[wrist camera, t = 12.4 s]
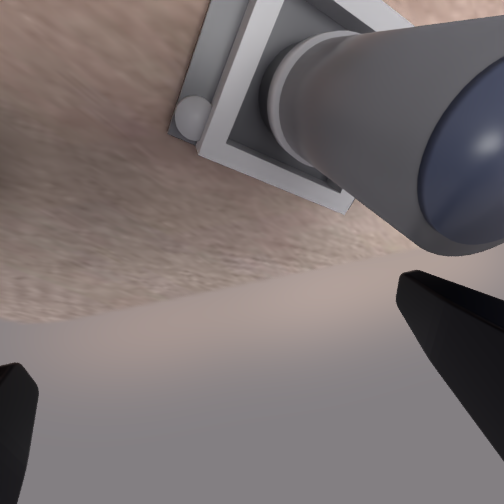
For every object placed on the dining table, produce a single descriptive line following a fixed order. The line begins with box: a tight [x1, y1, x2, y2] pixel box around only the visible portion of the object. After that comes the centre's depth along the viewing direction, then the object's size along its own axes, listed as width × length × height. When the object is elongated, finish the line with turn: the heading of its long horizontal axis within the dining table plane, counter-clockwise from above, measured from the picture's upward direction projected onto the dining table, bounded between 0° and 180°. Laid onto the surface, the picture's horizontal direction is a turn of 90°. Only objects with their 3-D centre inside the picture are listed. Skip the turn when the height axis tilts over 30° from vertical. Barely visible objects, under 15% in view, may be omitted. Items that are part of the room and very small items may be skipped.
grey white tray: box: [168, 0, 415, 215], centre depth 16 cm, size 12×9×3 cm
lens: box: [259, 15, 504, 256], centre depth 12 cm, size 5×5×12 cm
